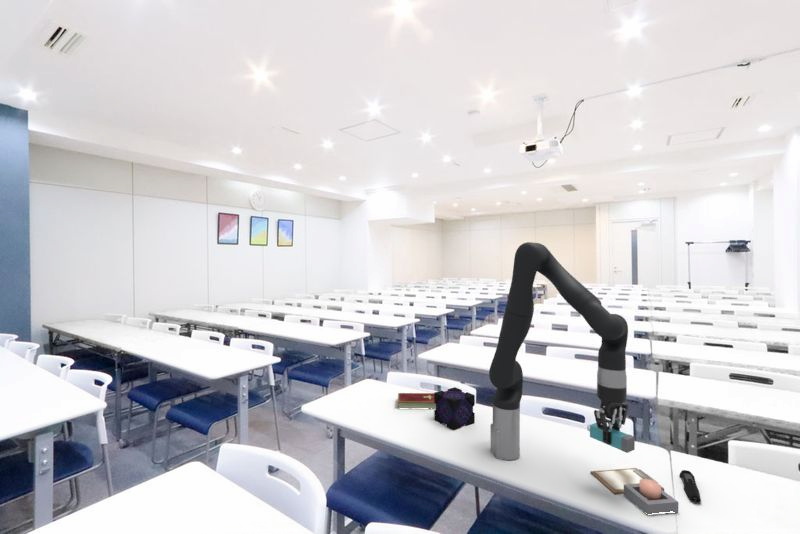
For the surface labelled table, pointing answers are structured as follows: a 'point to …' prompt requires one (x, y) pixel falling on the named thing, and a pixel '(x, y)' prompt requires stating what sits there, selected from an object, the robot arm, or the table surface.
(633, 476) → the clipboard
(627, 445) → the teal rectangular block
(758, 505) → the table surface
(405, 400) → the hardcover book
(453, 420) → the energy cube
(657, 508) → the collar
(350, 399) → the table surface
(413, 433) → the table surface
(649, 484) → the brown egg
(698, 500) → the electric trimmer
